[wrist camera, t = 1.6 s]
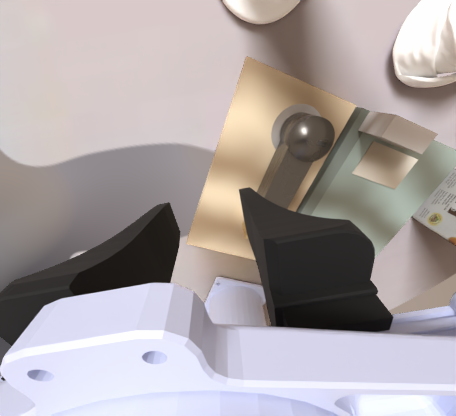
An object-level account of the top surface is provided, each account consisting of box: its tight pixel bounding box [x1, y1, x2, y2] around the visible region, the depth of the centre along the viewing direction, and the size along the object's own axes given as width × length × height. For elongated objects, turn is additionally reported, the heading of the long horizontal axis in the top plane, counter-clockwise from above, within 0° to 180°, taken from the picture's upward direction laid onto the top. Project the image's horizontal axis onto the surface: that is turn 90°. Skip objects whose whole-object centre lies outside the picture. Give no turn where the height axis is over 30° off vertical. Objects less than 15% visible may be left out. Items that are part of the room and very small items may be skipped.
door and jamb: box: [186, 56, 456, 260], centre depth 21 cm, size 18×22×4 cm
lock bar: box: [242, 112, 335, 239], centre depth 18 cm, size 12×3×3 cm, turn 161°
